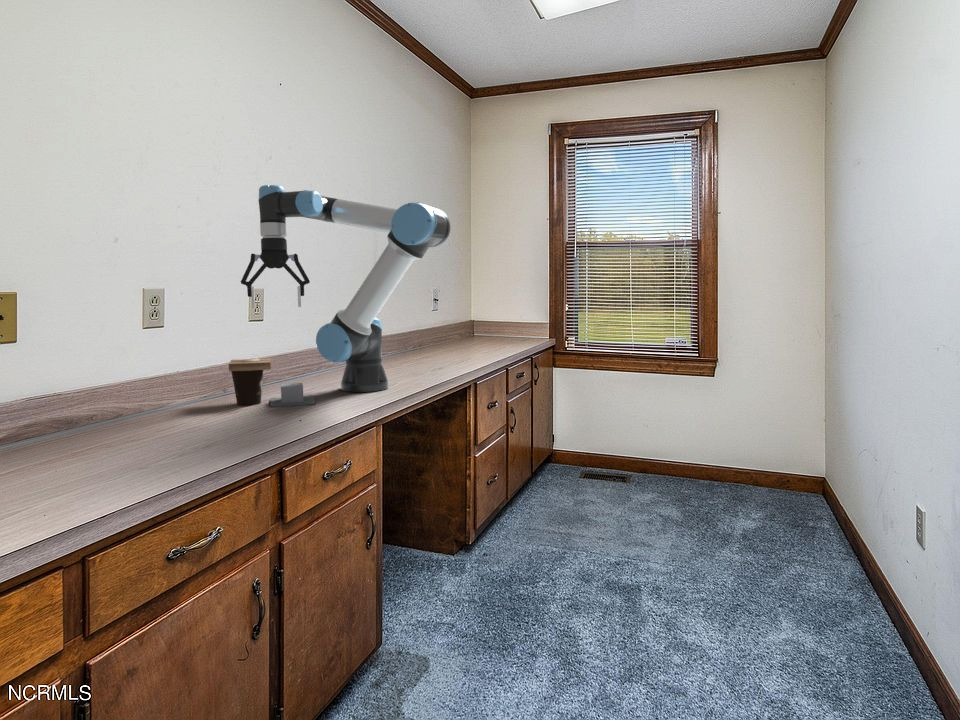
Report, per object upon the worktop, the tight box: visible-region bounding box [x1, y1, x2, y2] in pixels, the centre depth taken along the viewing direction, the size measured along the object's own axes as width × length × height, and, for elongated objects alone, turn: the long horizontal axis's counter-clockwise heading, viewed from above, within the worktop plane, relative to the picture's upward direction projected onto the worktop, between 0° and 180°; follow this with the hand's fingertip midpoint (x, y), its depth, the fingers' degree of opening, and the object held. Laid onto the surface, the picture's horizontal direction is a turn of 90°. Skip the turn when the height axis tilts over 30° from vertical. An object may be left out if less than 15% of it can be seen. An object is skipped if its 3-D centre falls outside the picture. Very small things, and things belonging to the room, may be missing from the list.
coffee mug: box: [230, 370, 264, 407], centre depth 185 cm, size 12×9×10 cm
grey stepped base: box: [269, 382, 316, 408], centre depth 185 cm, size 12×12×5 cm
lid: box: [228, 357, 272, 372], centre depth 185 cm, size 11×11×2 cm
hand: (276, 307), depth 199 cm, fingers open, 13 cm apart
